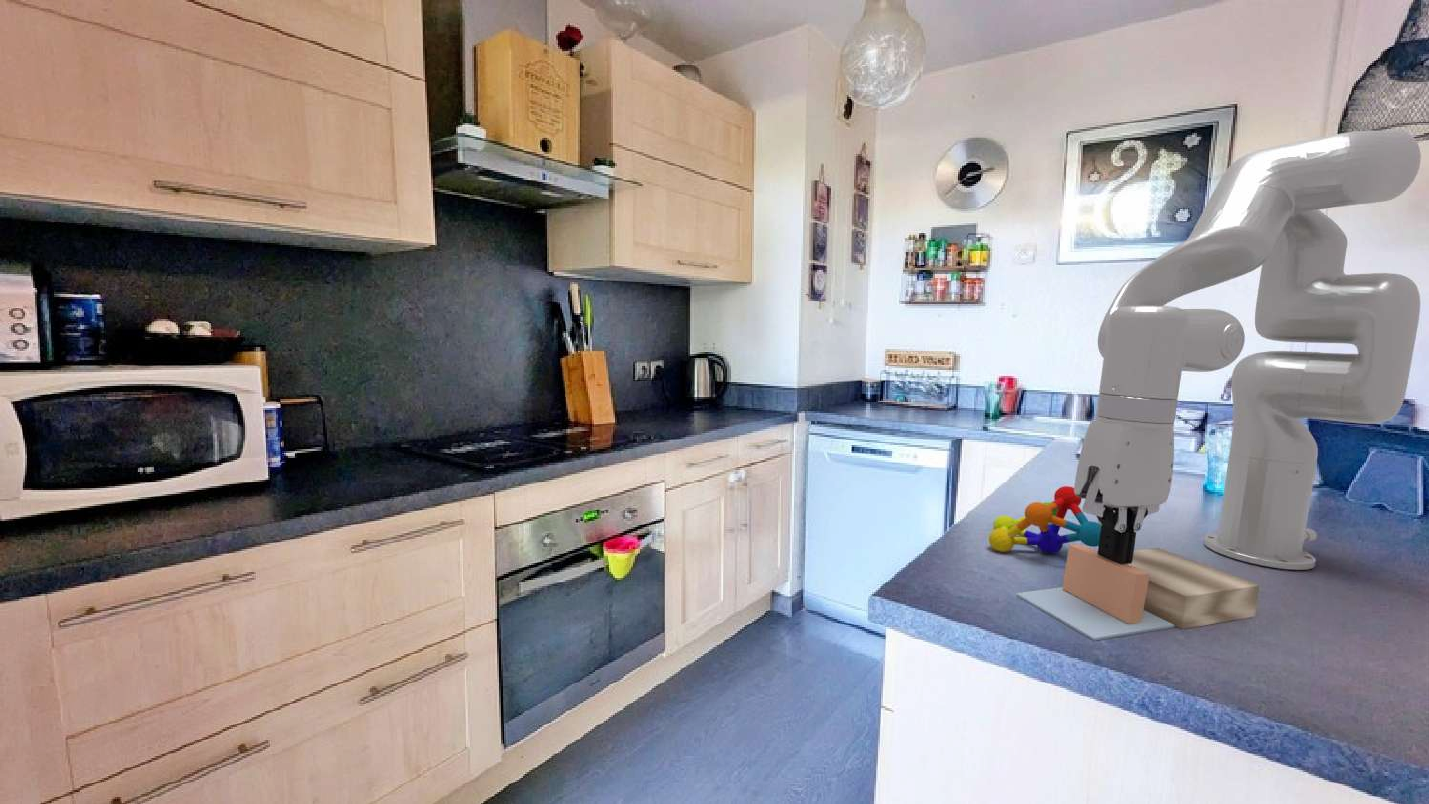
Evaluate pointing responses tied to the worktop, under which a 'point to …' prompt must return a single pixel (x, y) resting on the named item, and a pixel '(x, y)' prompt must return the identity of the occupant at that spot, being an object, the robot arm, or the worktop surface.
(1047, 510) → the molecular model
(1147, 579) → the salmon pink brick
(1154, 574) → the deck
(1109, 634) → the mat
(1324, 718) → the worktop surface
